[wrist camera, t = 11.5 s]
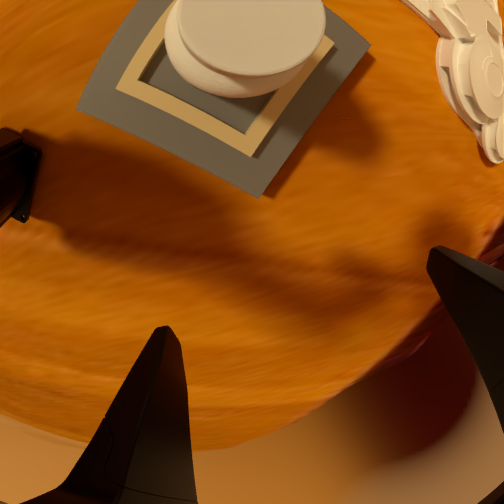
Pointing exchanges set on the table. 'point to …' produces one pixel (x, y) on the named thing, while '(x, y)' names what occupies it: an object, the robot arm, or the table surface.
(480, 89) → the molded plastic bracket
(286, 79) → the supplement bottle
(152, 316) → the table surface
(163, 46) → the grey square frame tile
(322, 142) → the table surface
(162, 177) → the table surface
